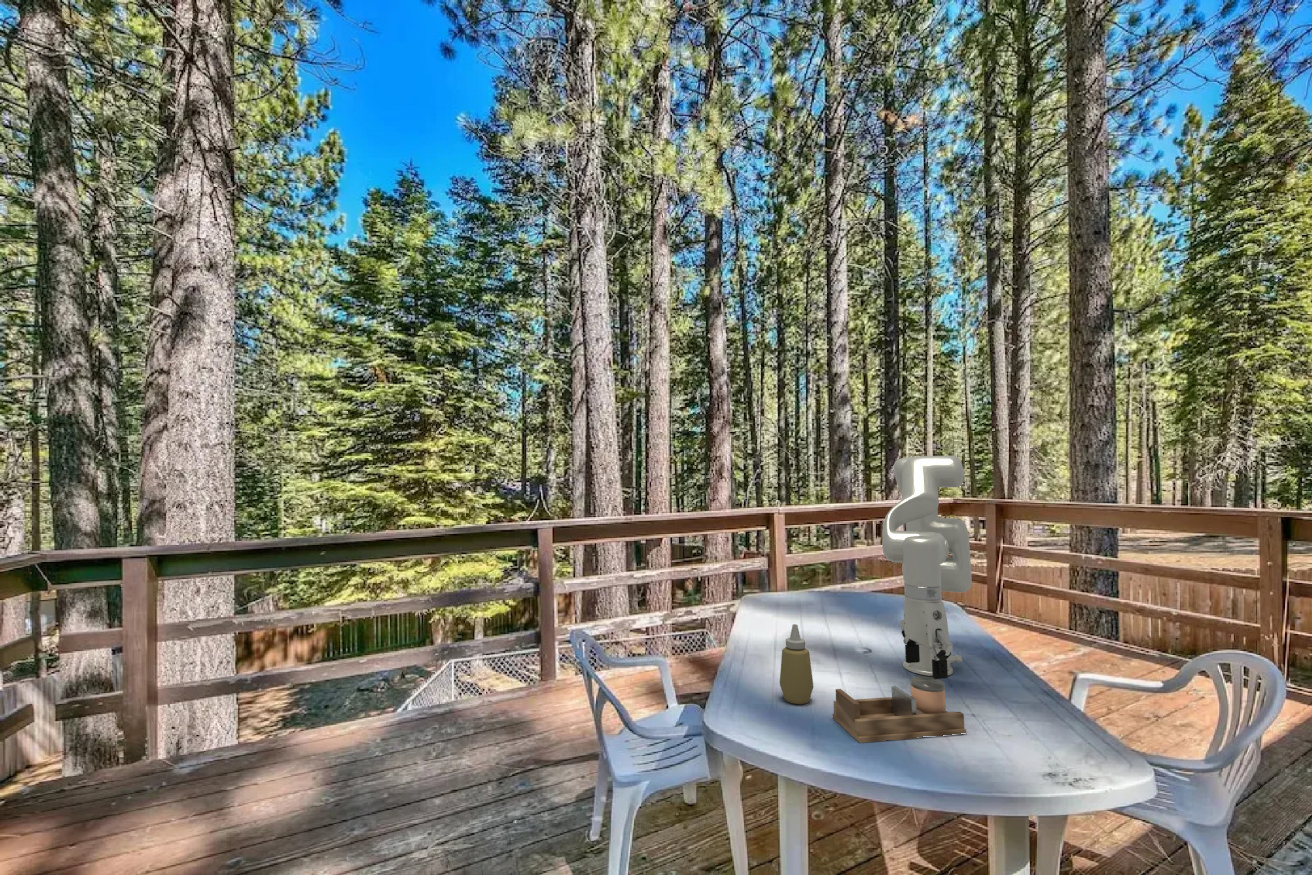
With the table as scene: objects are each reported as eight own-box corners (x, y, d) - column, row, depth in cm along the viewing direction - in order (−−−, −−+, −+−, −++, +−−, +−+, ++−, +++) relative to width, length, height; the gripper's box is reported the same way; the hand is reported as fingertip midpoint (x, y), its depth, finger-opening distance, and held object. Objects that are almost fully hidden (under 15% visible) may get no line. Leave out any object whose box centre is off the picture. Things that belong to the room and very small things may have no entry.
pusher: (904, 711, 126) (903, 685, 126) (925, 725, 118) (924, 698, 118) (892, 711, 125) (891, 686, 126) (912, 726, 118) (911, 699, 118)
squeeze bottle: (814, 696, 138) (813, 622, 139) (812, 708, 130) (810, 630, 132) (781, 692, 141) (780, 619, 142) (777, 704, 133) (776, 627, 134)
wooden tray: (930, 711, 129) (929, 680, 129) (966, 734, 117) (964, 700, 117) (832, 718, 125) (831, 686, 126) (859, 742, 113) (858, 707, 114)
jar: (933, 711, 126) (931, 675, 127) (953, 724, 119) (951, 686, 120) (905, 713, 125) (904, 676, 126) (924, 726, 118) (922, 688, 119)
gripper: (964, 600, 116) (968, 683, 115) (914, 583, 133) (917, 655, 133) (931, 602, 115) (935, 686, 114) (885, 584, 132) (888, 657, 132)
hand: (925, 669), depth 124 cm, fingers open, 9 cm apart
